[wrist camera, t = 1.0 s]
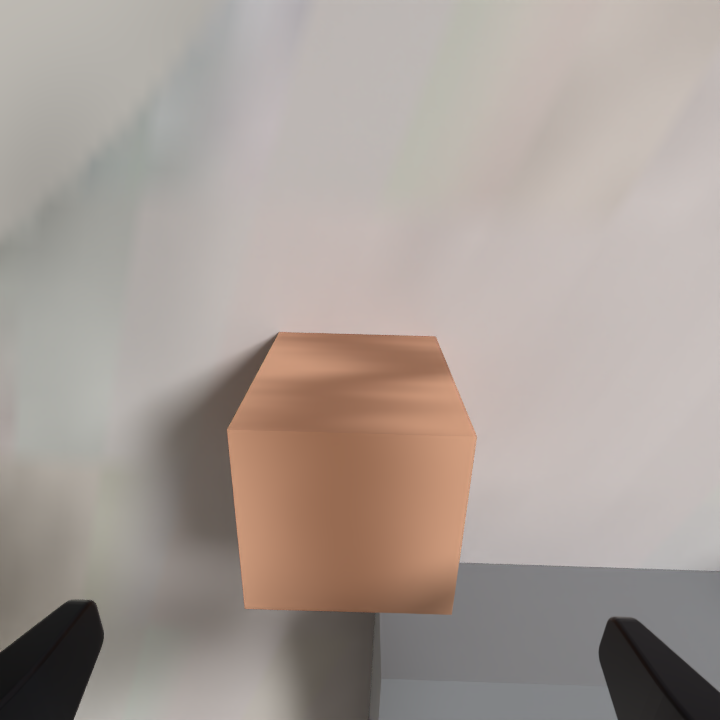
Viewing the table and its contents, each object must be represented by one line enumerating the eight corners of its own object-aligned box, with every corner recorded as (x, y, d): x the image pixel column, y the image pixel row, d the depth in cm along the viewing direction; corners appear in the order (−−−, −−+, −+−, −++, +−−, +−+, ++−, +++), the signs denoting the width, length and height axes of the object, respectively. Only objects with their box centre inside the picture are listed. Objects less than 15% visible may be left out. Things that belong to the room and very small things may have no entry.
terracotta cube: (435, 335, 15) (477, 436, 9) (423, 466, 17) (451, 614, 11) (279, 331, 15) (227, 429, 9) (285, 462, 17) (244, 609, 11)
